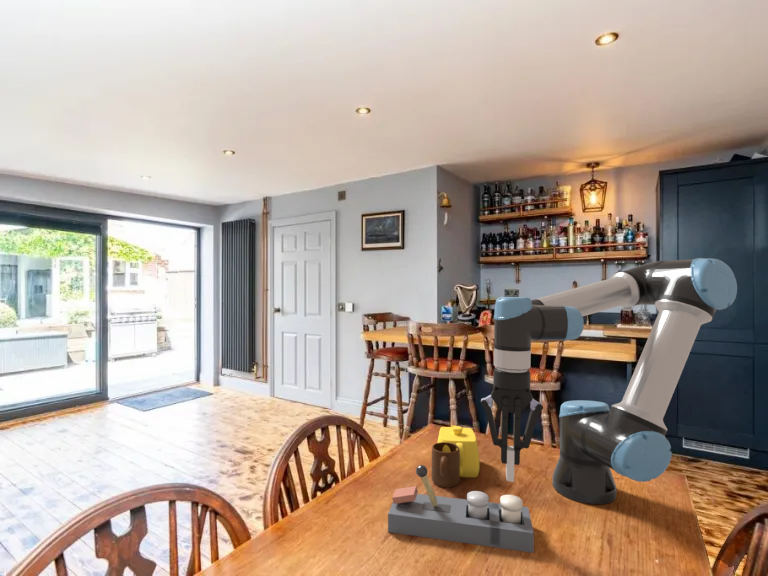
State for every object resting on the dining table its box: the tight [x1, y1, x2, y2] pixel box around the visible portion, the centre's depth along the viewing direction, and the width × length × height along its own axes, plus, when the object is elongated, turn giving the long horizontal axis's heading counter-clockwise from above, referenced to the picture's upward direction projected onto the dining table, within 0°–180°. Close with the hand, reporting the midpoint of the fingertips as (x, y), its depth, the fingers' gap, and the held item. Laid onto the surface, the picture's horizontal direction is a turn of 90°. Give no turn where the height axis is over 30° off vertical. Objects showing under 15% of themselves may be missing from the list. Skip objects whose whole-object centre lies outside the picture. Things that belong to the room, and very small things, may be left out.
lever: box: [415, 464, 438, 507], centre depth 93 cm, size 3×3×9 cm
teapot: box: [437, 424, 480, 478], centre depth 122 cm, size 20×12×12 cm, turn 175°
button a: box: [499, 494, 524, 524], centre depth 89 cm, size 5×5×5 cm
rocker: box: [392, 485, 419, 504], centre depth 94 cm, size 5×4×1 cm
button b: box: [466, 490, 490, 520], centre depth 90 cm, size 5×5×5 cm
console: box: [387, 493, 535, 554], centre depth 91 cm, size 30×10×5 cm, turn 77°
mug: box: [431, 442, 461, 488], centre depth 111 cm, size 12×8×9 cm, turn 167°
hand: (509, 478), depth 88 cm, fingers closed
